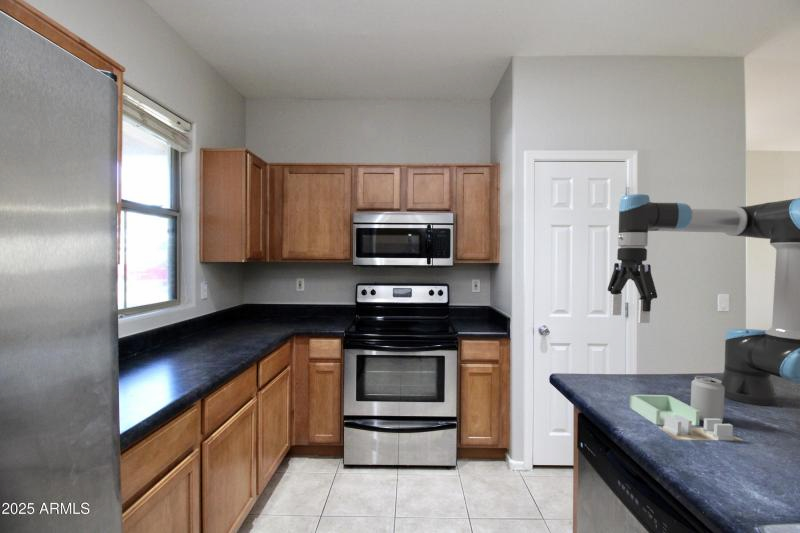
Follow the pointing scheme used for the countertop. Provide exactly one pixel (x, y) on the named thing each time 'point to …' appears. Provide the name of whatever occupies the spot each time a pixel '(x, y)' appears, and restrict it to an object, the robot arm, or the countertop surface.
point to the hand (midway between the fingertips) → (629, 318)
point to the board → (696, 435)
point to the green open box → (662, 408)
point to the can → (708, 397)
